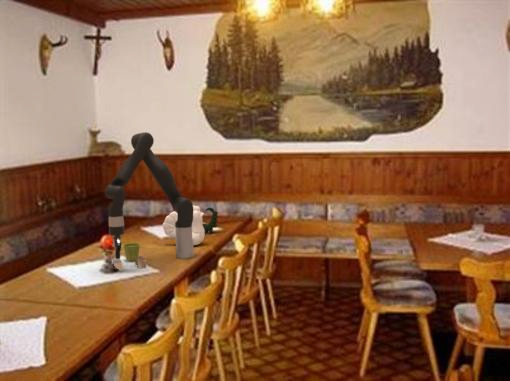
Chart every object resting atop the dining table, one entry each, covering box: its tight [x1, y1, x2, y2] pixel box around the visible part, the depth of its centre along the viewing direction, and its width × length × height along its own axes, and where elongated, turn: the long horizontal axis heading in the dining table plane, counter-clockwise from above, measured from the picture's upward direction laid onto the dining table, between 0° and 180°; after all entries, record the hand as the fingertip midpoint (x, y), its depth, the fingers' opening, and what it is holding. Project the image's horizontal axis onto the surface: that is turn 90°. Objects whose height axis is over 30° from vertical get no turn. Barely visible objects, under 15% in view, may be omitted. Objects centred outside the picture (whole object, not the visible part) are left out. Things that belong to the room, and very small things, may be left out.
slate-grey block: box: [112, 258, 123, 271], centre depth 282 cm, size 4×4×10 cm
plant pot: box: [122, 242, 141, 262], centre depth 299 cm, size 9×9×9 cm
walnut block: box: [134, 255, 147, 269], centre depth 287 cm, size 4×4×10 cm
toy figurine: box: [202, 207, 219, 235], centre depth 373 cm, size 9×19×25 cm
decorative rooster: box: [162, 204, 206, 246], centre depth 336 cm, size 25×16×25 cm, turn 80°
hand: (117, 258), depth 279 cm, fingers closed
